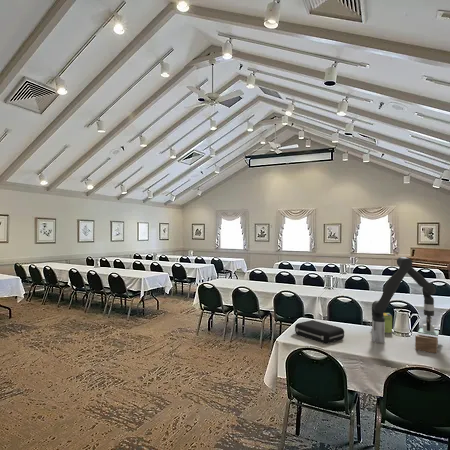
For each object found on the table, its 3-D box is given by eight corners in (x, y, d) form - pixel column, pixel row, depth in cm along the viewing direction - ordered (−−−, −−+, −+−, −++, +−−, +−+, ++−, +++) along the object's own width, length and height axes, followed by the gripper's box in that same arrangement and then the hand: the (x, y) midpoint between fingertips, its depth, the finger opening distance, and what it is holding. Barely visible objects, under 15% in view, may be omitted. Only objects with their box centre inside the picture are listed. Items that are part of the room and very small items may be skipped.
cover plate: (438, 336, 283) (438, 328, 283) (418, 333, 291) (418, 325, 291) (439, 331, 295) (439, 324, 295) (420, 329, 303) (420, 322, 303)
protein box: (392, 333, 318) (392, 315, 318) (374, 331, 321) (374, 314, 321) (389, 329, 328) (389, 313, 328) (371, 328, 331) (371, 312, 331)
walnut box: (436, 353, 266) (436, 339, 266) (415, 349, 274) (415, 336, 274) (437, 347, 279) (437, 334, 279) (417, 344, 287) (417, 331, 287)
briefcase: (350, 338, 301) (350, 326, 301) (326, 345, 282) (327, 333, 282) (316, 328, 330) (316, 317, 330) (293, 334, 311) (293, 322, 311)
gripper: (433, 311, 285) (433, 332, 285) (434, 308, 297) (434, 328, 297) (422, 310, 289) (422, 331, 289) (424, 307, 301) (424, 327, 301)
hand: (428, 330), depth 293 cm, fingers closed on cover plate, 4 cm apart
